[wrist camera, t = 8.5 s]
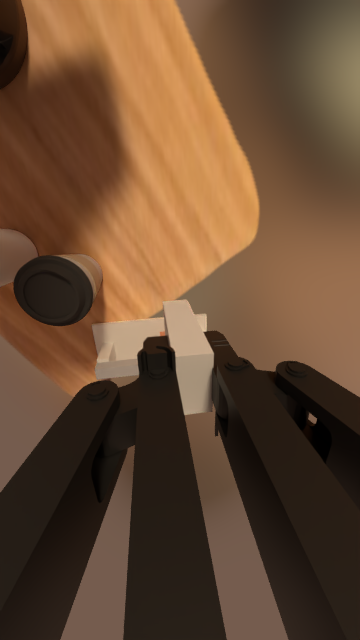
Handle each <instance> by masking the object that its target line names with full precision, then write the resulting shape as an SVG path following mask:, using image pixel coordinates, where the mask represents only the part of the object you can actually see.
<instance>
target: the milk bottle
mask: <svg viewBox="0 0 360 640" xmlns="http://www.w3.org/2000/svg"><path fill="white" fill-rule="evenodd" d="M36 257H38V253H37V250H36V248H35V246H34V244H33V243H32V241H31V240H30V239H29V238H28V237H27V236H25V235H24V234H22V233H20V232H18V231H15V230H12V229H0V287H1V286H4V285H7V284H9V283H11V282H14V279H15V276H16V274H17V272H18V270H19V269H20V268H21V267H22V266H23V265H24V264H26V263H27V262H29V261H30V260H32V259H34V258H36Z"/></svg>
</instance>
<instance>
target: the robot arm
mask: <svg viewBox="0 0 360 640" xmlns="http://www.w3.org/2000/svg"><path fill="white" fill-rule="evenodd" d="M26 46H27V26H26V19H25V14H24V9H23V6H22V2H21V0H0V89H1V88H3V87H5V86H6V85H7V84H9V83H10V82H11V81H12V80H13V79H14V78H15V76H16V75H17V73H18V72H19V70H20V68H21V66H22V63H23V60H24V57H25V52H26ZM163 311H164V328H165V336H154V337H147V338H146V339H145V341H144V342H143V348H142V349H141V350H140V351H139V352H138V354H137V360H138V369H139V378H138V379H137V380H136V381H134V382H132V383H130V384H128V385H126V386H122V387H119V388H118V387H117V385H116V384H115V383H114V382H112V381H107V380H104V381H96V382H93V383H90V384H88V385H86V386H85V387H83V388H82V389H81V390H80V391H79V392H78V393H77V394H76V395H75V397H74V398H73V399H72V401H71V402H70V403H69V405H68V406H67V407H66V409H65V410H64V411H63V412H62V414H61V415H60V416H59V417H58V419H57V420H56V422H55V423H54V424H53V425H52V427H51V428H50V429H49V430H48V432H47V433H46V434H45V436H44V437H43V438H42V440H41V441H40V442H39V443H38V445H37V446H36V447H35V449H34V450H33V451H32V452H31V454H30V455H29V456H28V458H27V459H26V460H25V462H24V463H23V464H22V465H21V467H20V468H19V469H18V471H17V472H16V473H15V475H14V476H13V477H12V478H11V480H10V481H9V482H8V484H7V485H6V486H5V487H4V489H3V490H2V492H1V493H0V640H60V639H61V636H62V633H63V630H64V628H65V625H66V622H67V619H68V616H69V613H70V611H71V608H72V605H73V602H74V600H75V597H76V594H77V591H78V588H79V586H80V583H81V580H82V577H83V574H84V572H85V569H86V566H87V563H88V560H89V557H90V555H91V552H92V549H93V546H94V544H95V541H96V538H97V535H98V532H99V530H100V527H101V524H102V521H103V518H104V516H105V513H106V510H107V507H108V504H109V502H110V499H111V496H112V493H113V490H114V488H115V485H116V482H117V479H118V476H119V473H120V471H121V468H122V465H123V462H124V460H125V457H126V454H127V449H128V448H129V447H131V446H133V445H135V455H134V472H133V489H132V504H131V521H130V538H129V554H128V570H127V587H126V603H125V620H124V638H123V640H227V639H226V633H225V628H224V623H223V617H222V613H221V607H220V602H219V596H218V591H217V586H216V581H215V575H214V570H213V564H212V559H211V554H210V549H209V544H208V538H207V533H206V527H205V522H204V517H203V511H202V506H201V501H200V496H199V490H198V485H197V480H196V474H195V469H194V464H193V459H192V454H191V448H190V443H189V437H188V432H187V427H186V422H185V416H184V415H186V414H195V413H203V412H212V404H214V406H215V409H216V414H215V436H218V430H219V433H220V436H221V439H222V442H223V445H224V448H225V451H226V454H227V457H228V459H229V463H230V466H231V469H232V471H233V475H234V478H235V481H236V484H237V487H238V490H239V492H240V496H241V498H242V501H243V505H244V508H245V511H246V513H247V517H248V520H249V523H250V526H251V528H252V532H253V535H254V537H255V540H256V543H257V546H258V549H259V552H260V555H261V558H262V561H263V564H264V567H265V570H266V573H267V576H268V579H269V582H270V585H271V588H272V591H273V594H274V597H275V600H276V603H277V606H278V609H279V612H280V615H281V618H282V621H283V624H284V626H285V630H286V633H287V636H288V639H289V640H360V397H358V396H356V395H355V394H353V393H352V392H350V391H348V390H347V389H345V388H344V387H342V386H340V385H339V384H337V383H336V382H334V381H332V380H330V379H329V378H328V377H326V376H324V375H323V374H321V373H319V372H318V371H316V370H315V369H313V368H311V367H310V366H308V365H305V364H303V363H300V362H297V361H284V362H281V363H279V364H278V365H277V367H276V371H275V372H271V371H262V370H256V369H255V367H254V366H253V365H252V363H250V362H249V361H248V360H246V359H244V358H241V357H238V356H237V354H236V353H235V351H234V350H233V348H232V347H231V346H230V345H229V343H228V341H227V340H226V338H225V337H224V335H223V334H221V333H220V332H218V331H206V332H203V331H202V329H201V327H200V325H199V323H198V321H197V319H196V317H195V315H194V313H193V311H192V309H191V307H190V305H189V303H188V301H187V300H175V301H163ZM309 412H310V413H311V414H312V415H313V416H314V417H316V418H317V422H316V424H313V423H312V422H311V421H309V420H308V417H309Z"/></svg>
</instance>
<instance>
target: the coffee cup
mask: <svg viewBox="0 0 360 640" xmlns="http://www.w3.org/2000/svg"><path fill="white" fill-rule="evenodd" d="M102 278H103V274H102V270H101V267H100V266H99V264H98V263H97V262H96V261H95V260H94V259H93V258H91V257H90V256H87V255H84V254H64V255H46V256H40V257H36V258H34V259H32V260H30V261H29V262H27V263H26V264H24V265H23V266H22V267H21V268H20V269H19V270H18V272H17V274H16V276H15V279H14V293H15V297H16V299H17V301H18V303H19V305H20V306H21V307H22V309H23V310H24V311H25V312H26V313H27V314H28V315H30V316H31V317H32V318H34V319H36V320H38V321H40V322H42V323H45V324H48V325H53V326H66V325H71V324H74V323H76V322H78V321H79V320H81V319H82V318H83V317H85V316H86V314H87V313H88V312H89V310H90V308H91V306H92V303H93V301H94V299H95V297H96V295H97V293H98V291H99V288H100V284H101V282H102Z"/></svg>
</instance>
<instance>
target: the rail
mask: <svg viewBox="0 0 360 640" xmlns="http://www.w3.org/2000/svg"><path fill="white" fill-rule="evenodd" d="M195 317H196V319H197V321H198V323H199V325H200V327H201V329H202V331H203V332H206V331H207V323H206V322H207V320H206V319H207V318H206V317H207V316H206V314H198V315H195ZM92 330H93V335H94V340H95V345H96V350H97V354H98V358H97V364H96V367H95V373H96V378H97V379H106V378H115V377H124V376H133V375H139V369H138V360H137V354H138V352H139V351H140V350H141V349H142V348H143V342H144V341H145V339H146V338H147V337H154V336H160V332H164V331H165V328H164V317H162V318H151V319H139V320H128V321H116V322H105V323H94V324H92Z"/></svg>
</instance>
